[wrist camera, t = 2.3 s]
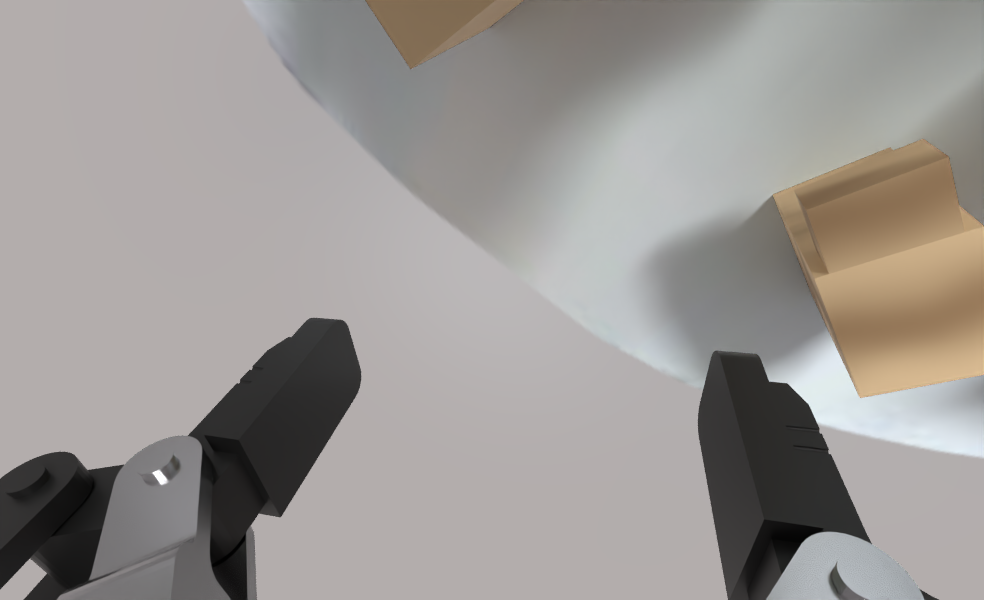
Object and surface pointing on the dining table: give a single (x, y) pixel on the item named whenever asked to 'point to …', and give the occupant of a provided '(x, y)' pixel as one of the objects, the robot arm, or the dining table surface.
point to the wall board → (435, 23)
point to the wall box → (892, 267)
